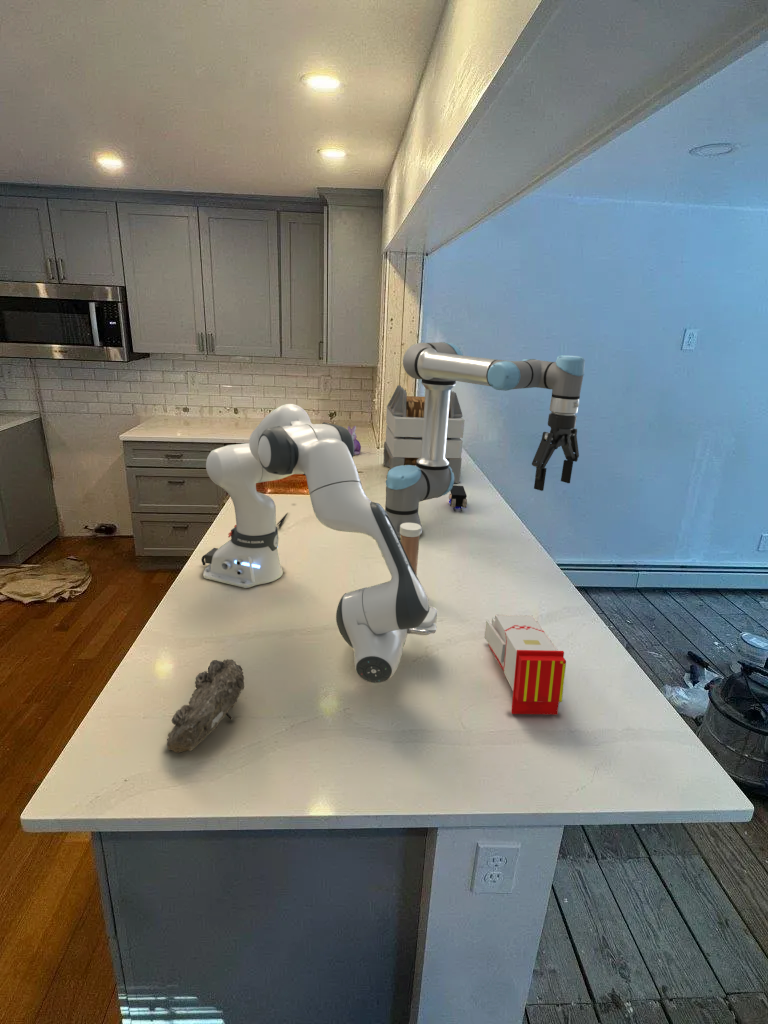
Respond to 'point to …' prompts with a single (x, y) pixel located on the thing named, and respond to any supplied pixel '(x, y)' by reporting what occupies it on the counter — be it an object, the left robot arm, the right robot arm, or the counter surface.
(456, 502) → the figurine character
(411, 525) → the lid
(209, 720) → the fossil
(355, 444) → the figurine
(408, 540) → the tan brown cylinder
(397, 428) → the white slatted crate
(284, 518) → the feather
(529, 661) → the toy
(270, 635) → the counter surface
